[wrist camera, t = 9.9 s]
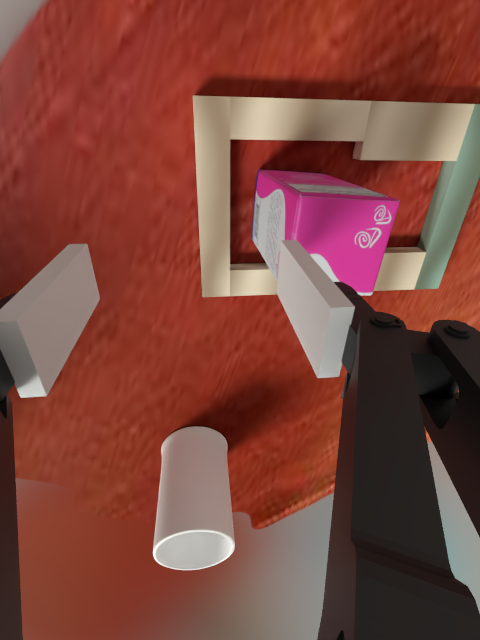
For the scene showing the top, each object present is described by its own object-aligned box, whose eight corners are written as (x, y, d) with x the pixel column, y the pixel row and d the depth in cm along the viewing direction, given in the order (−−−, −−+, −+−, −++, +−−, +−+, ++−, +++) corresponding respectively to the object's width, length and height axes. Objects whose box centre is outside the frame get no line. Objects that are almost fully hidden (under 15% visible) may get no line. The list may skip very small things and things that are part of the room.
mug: (184, 487, 46) (181, 590, 36) (133, 466, 43) (113, 574, 32) (240, 442, 43) (254, 543, 32) (189, 415, 39) (187, 519, 29)
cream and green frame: (202, 289, 30) (202, 297, 29) (192, 97, 23) (192, 95, 21) (428, 282, 33) (438, 288, 32) (490, 105, 25) (506, 105, 24)
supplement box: (314, 241, 29) (373, 300, 20) (250, 239, 28) (278, 299, 19) (328, 171, 26) (405, 200, 17) (256, 167, 26) (293, 193, 16)
